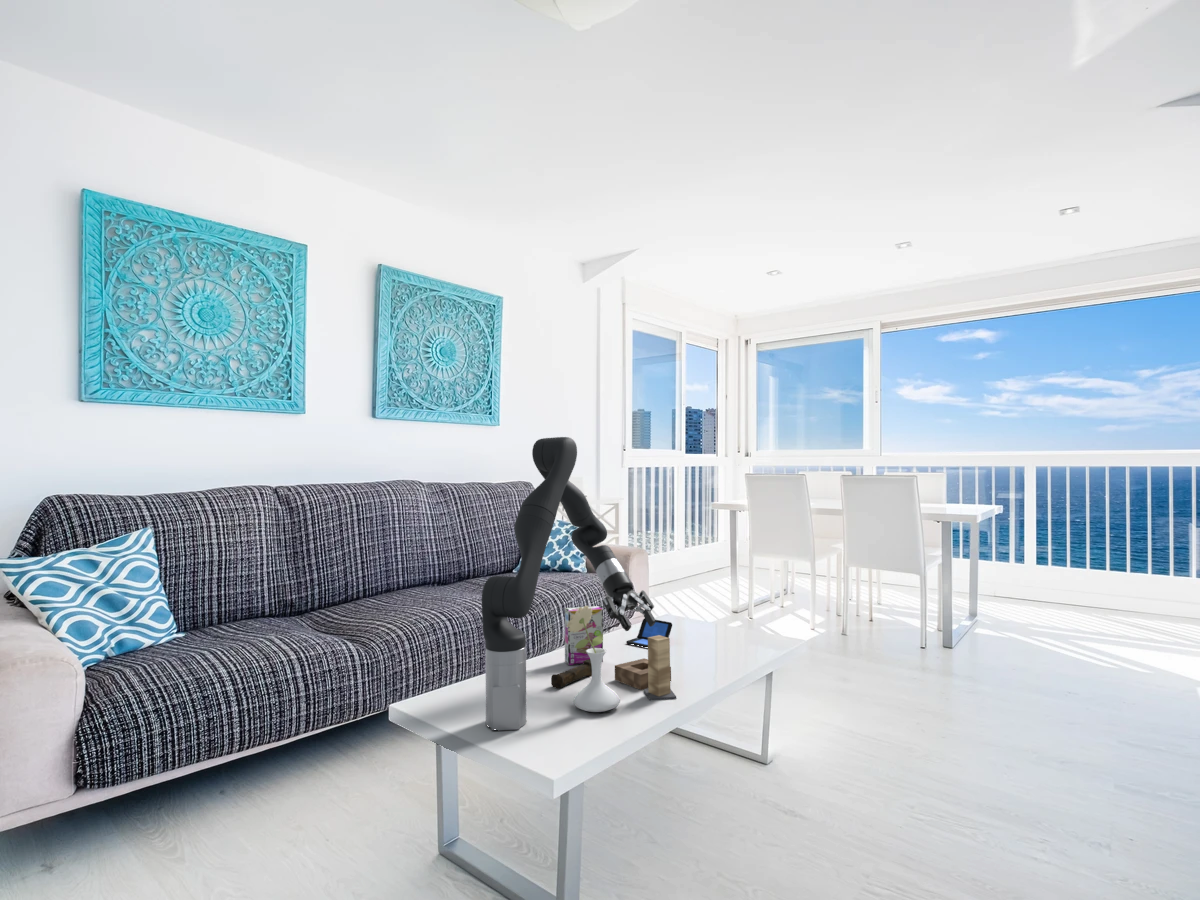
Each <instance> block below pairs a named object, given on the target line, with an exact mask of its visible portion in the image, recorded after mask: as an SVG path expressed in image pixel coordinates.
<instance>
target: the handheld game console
mask: <svg viewBox="0 0 1200 900" xmlns="http://www.w3.org/2000/svg"><path fill="white" fill-rule="evenodd" d="M672 628H673V623H672V622H669V621H667V620H666V621H665V620H659V619H655V624H654V625H653V626H651V627H650V626H649V624H648V623H647V621H646V619H645V617H644V618H643V619H642V622H641V625H640V627H639V630H638V634H637V636H636V637H635V638H632V639H629V640H626V641H625V643H627V645H628V644H634V645H639V646H643V647H648V637H653V636H658V635H661V636H664V637H668V638H670V634H671V631H672Z"/></svg>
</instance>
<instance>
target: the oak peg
mask: <svg viewBox="0 0 1200 900" xmlns="http://www.w3.org/2000/svg"><path fill="white" fill-rule="evenodd" d="M647 659H648V688H647V689H649V693H651V694H654V695H656V696H662V695H666V694H670V693H671V690H672V689H671V682H670V667H671V640H670V637H669V638H668V637H664V636H661V635H658V636H653V637H648V649H647ZM670 689H671V690H670Z"/></svg>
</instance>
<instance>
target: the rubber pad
mask: <svg viewBox="0 0 1200 900" xmlns="http://www.w3.org/2000/svg"><path fill="white" fill-rule="evenodd" d="M670 690H671V693H670V694H666V695H662V696H656V695H654V694H651V693H649V688H647V689H643V692H644V694H645V696H646V698H647V699H648V700H649V701H658V700H660V699H662V700H672V699H671V698H676V699H677V695H676V694H675V693H674V691H673V690H672V688H670ZM660 701H661V700H660Z"/></svg>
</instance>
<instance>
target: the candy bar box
mask: <svg viewBox="0 0 1200 900" xmlns="http://www.w3.org/2000/svg"><path fill="white" fill-rule="evenodd" d="M580 607H582V609H583V607H584V606H579V607H578V606H577V607H564V662H565V663H566V665H568V666H575V665H576V666H577V665H582V664H583V662H584V661H585V660H588V659H590V657H589V655H588V654H587V652H586V650H588V649H591V648H593V647H592V646H591V644H590V642H588V643H587V645H586V646H585V647H583V648H575V646H576V644H577V643H578V642H579V641H581V640H583V639H586V640H588V637H587V633H586V630H585V627H583V628H582V629H581V630H579V631H578V632H575V633H573V631H572V632H570V631H568V629H569V627H567V625H568V622H569V621H570V620H571V616H572V615H575V613H576V611H577V610H579V608H580ZM588 607H589V608H592V615H591V620H589V622H588V623H587V625H586V629H587V632H588V635H589V639H590V641H591V643H592V640H593V639H594V638H596V637H597V636H599V635H601V634H602V633H603V634H604V619H603V618H604V609H603V607H601V606H598V605H596V606H595V605H594V606H588ZM588 641H589V640H588ZM594 648H602V649H604V641H603V642H602V643H601V644H599V645H597V646H594ZM603 662H604V658H603V659H602V663H603Z"/></svg>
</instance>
